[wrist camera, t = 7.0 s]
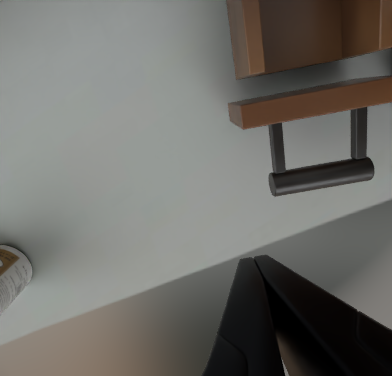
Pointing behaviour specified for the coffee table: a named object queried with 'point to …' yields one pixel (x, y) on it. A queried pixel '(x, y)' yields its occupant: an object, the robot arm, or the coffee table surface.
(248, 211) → the coffee table surface
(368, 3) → the drawer
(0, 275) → the pill bottle
